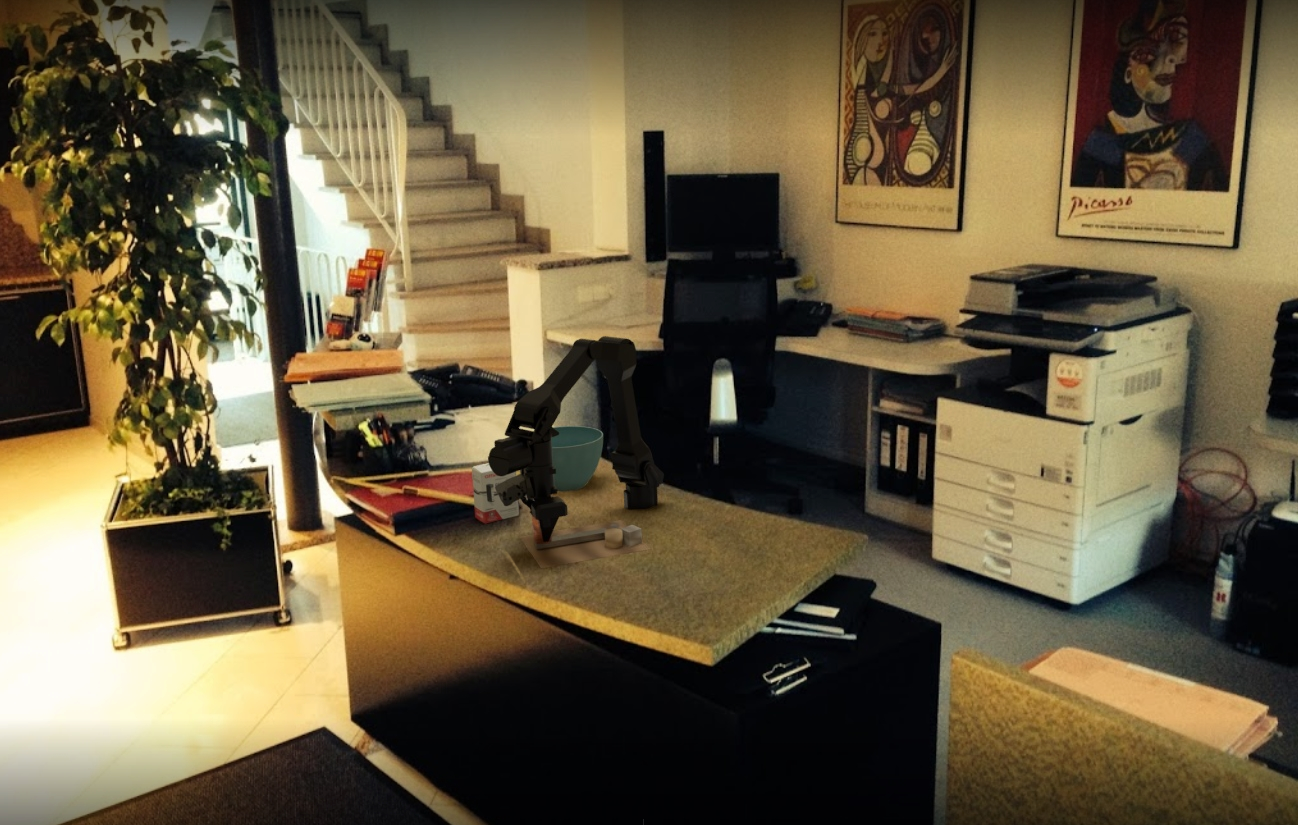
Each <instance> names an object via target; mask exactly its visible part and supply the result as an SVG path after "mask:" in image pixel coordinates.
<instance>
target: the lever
mask: <svg viewBox="0 0 1298 825" xmlns="http://www.w3.org/2000/svg"><path fill="white" fill-rule="evenodd" d="M531 521H532V523H531V524H532V534H533V537H534V546H535V547H536V549H543V548H549V547H555V546H561V545H567V544H573V543H579V542H585V541H591V540H597V539H603V538H605V531H606V530H607V529H606V528H602V529H596V530H590V531H584V532H578V533H572V534H566V535H559V536H553V537H552V535H551V537H550V540H549V541H548V542H543V539H542V535H541V531H540V527H539V523H538V520H536V519H535V518H534V517H533V516H532V515H531Z"/></svg>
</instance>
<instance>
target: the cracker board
mask: <svg viewBox="0 0 1298 825" xmlns="http://www.w3.org/2000/svg"><path fill="white" fill-rule="evenodd" d="M602 528H606V529H607V530H608V529H612V528H617V529H621V530H622V533H623V547H621V548H618V549H608V548H606V547H605V538H603V539H597V540H591V541H585V542H579V543H573V544H567V545H561V546H555V547H549V548H543V549H536V547H535V546H534V537H533V533H532V534H528V535H522V536H519V538H520V540H521V542H522V543H523V545H524V546H525V547H526V549H527V551H528V552H529V553H530V554H531V556H532V557H533V559H534V560H535V562H536V563H537V565H538V566H539V567H540V569H544V568H545V569H547V568H551V567H556V566H563V565H568V564H569V565H570V564H574V563H579V562H585V561H592V560H597V559H603V558H608V557H614V556H615V557H616V556H620V555H625V554H632V553H637V552H638V553H639V552H644V551H648V550H651V547H649V546H648V545H647V544H646V543H645V542H644V541H643V535H642V528H641V527H638V526H636V525H634V524H630V525H627V524H626V523H625V522H624V520H622V519H619V520H612V521H608V522H607V521H606V522H601V523H596V524H588V525H582V526H576V527H569V528H565V529H558V530H553V532H552V537H553V536H559V535H566V534H572V533H578V532H584V531H590V530H596V529H602Z"/></svg>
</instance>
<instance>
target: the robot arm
mask: <svg viewBox="0 0 1298 825" xmlns="http://www.w3.org/2000/svg"><path fill="white" fill-rule="evenodd" d="M594 361H595V362H596V364H597V368H598V370H599V371H600V372H601V374H602V376H604V377H605V379H606V380H607V384H608V389H609V395H610V400H611V401H610V402H611V406H612V412H613V417H614V424H615V430H616V436H617V437H616V438H617V442H618V443H617V445H616V447H615V450H614V451H612V452H611V453H610V458H611V462H612V468H611V469H612V470H614V473H615V474H616V475H617V479H618V481H619V483H622V484H625V489H624V490H623V507H624V508H625V509H627V510H642V511H643V510H650V509H651V508H654V507H656V506H658V505H659V502H658V501H659V500H658V488H659V487H660V485H661V484H663V482H664V478H665V473H664V472H663V471H662V470H661V469H660V468H659V467H658V466H657V465H656V464H655V460H654V459H653V455H652V451H651V449H650V448H649V446H648V445H647V444H646V442H644V440H643V439H642V435H641V434H642V432H641V428H640V423H639V422H640V421H639V416H638V410H637V404H636V397H635V391H634V385H633V379H632V376H633V374H634V371H635V369H636V366H637V349H636V345H635V342H634V341H632V340H631V339H629V338H626V337H625V338H624V337H615V336H610V335H609V336H608V335H603V336H601V337H600V338H598V340H596V339H587V338H579V339H576V340H575V341H574V342H573V344H572V347H571V349H570V350H569V351H568V353H567V354H566V355H565V356H564V358H563V359H562V360H561V361H560V362H559V363H558V364H557V366H556V367H555V368H554V370H553V371H552V372H551V373H550V374H549V376H548V377H547V378H546V379H545V381H544V382H543V383H542V384H541V385H540V386H538V387H536V388H534V389H532V390H528V392H527V393H525V394H524V395H523V396H522V397H521V398H520V399H519V400H518V401H517V402H516V404H515V405H514V408H513V412H512V415H511V417H510V420H509V421H508V424H507V426H506V429H505V431H504V436H506V437H505V438H498V439H496V440H494V441H493V442H494V443H493V444H494V447H492V448H491V449H490V451H489V454H488V456H487V461H488V463H489V465H490V468H491V470H492V471H493V472H494V473H495V474H496V475H498V476H506V475H508V474H511V473H514V472H516V473H517V472H519V474H516V476H514V477H512V478H510V479H508V480H506V481H504V482H502V483H500V484H498V485H496V486H495V489H496V491H497V493H498V495H499V497H500V500H501V502H502V503H503V504H504V506H509V505H511V504H512V503H513V502H515V501H517V500H518V501H519V500H520V501H521V503H523V505H525V506H526V507H527V508H529V513H530V514H531V517H532V516H533V517H534V518H535V519H536V520H538V523H539V527H540V531H541V535H542V539H543V542H548V541H549V540H550V537H551V535H552V532H553V531H555V527H556V525H557V522H558V520H559V518H562V517H566V516H568V504H566V502H565V500H563V499H562V498H561V497H559V496H558V491H557V488H556V487H555V486H554V474H556V468H555V467H554V466H553V457H552V441H551V438H552V437H555V436H558V435H559V432H558V431H557V430H555V429H554V428H553V427H554V426H553V425H554V423H556V420H557V419H558V417H559V415H560V413H561V407H562V402H563V400H564V399H565V397H566V396H567V395H568V394H569V392H570V391H571V390H572V389H573V388H574V386H575V385H576V384H577V382H578V381H579V380H580V379H581V378H582V376H583V375H584V374H585V372H586V371H587V370H588V368H590V366H591V365H592V363H593V362H594ZM520 427H522V428H520ZM523 428H526V429H523ZM528 429H531V430H528ZM552 495H555V496H552Z"/></svg>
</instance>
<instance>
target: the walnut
mask: <svg viewBox="0 0 1298 825" xmlns="http://www.w3.org/2000/svg"><path fill="white" fill-rule="evenodd" d="M605 547H606V548H608V549H618V548H621V547H623V533H622V530H621V529H617V528H612V529H608V530H606V531H605Z"/></svg>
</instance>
